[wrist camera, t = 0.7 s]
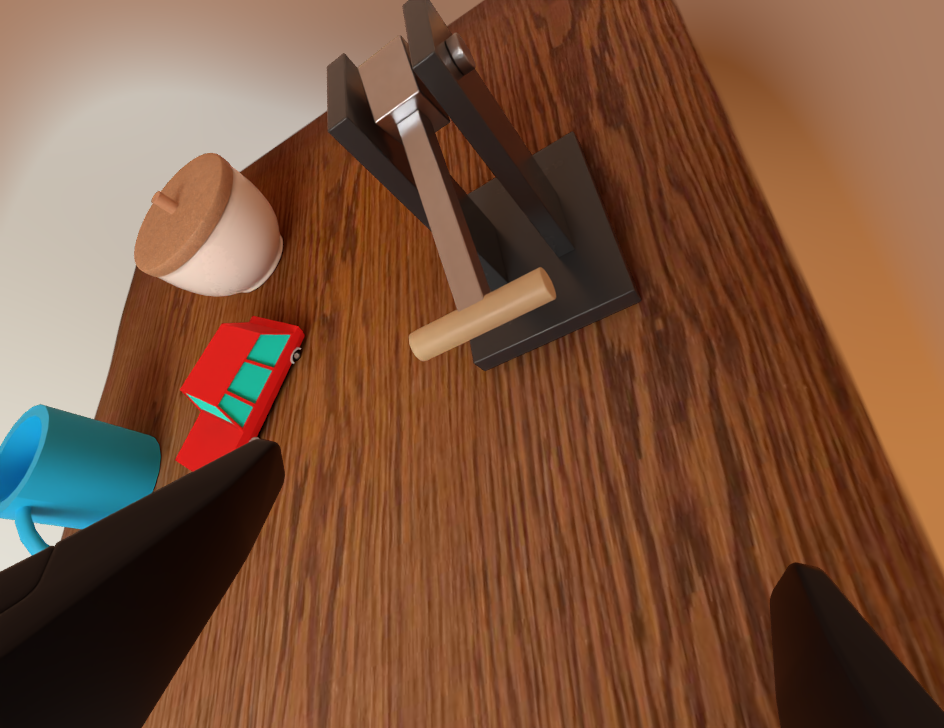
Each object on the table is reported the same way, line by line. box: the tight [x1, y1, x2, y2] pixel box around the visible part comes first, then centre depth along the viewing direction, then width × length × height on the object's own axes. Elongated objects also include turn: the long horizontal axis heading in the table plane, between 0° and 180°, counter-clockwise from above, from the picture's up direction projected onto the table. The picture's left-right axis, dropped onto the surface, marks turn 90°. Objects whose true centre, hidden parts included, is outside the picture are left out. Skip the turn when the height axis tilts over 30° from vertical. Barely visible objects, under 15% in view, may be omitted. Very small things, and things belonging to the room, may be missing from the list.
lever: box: [358, 35, 556, 361], centre depth 21 cm, size 12×6×2 cm, turn 10°
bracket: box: [327, 0, 641, 371], centre depth 26 cm, size 12×9×14 cm
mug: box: [0, 404, 161, 555], centre depth 41 cm, size 12×8×8 cm
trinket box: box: [134, 153, 283, 296], centre depth 44 cm, size 11×11×9 cm
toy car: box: [175, 316, 305, 472], centre depth 39 cm, size 6×12×4 cm, turn 155°
